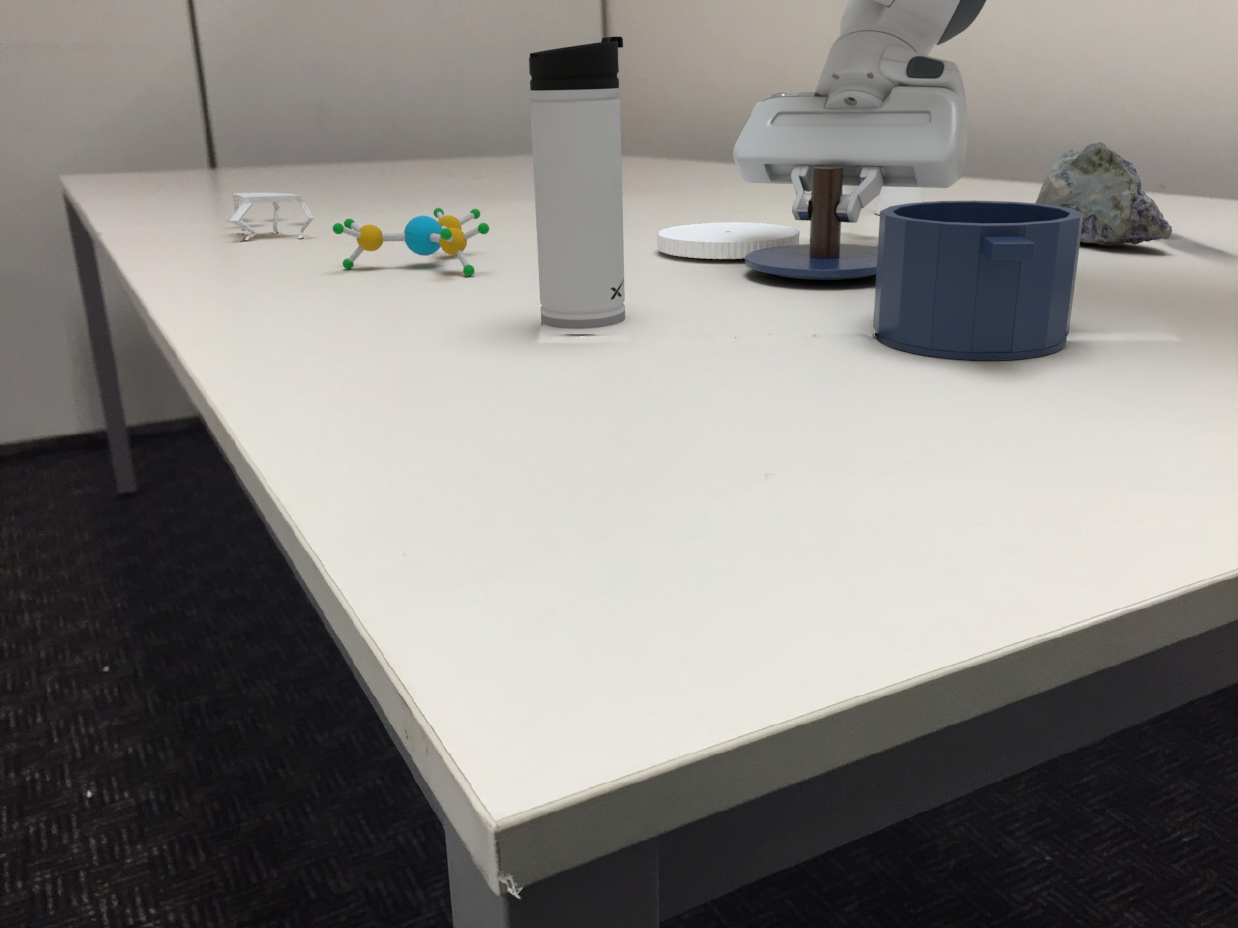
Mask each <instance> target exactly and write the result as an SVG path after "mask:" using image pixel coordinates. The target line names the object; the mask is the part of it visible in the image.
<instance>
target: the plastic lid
mask: <svg viewBox="0 0 1238 928" xmlns="http://www.w3.org/2000/svg"><path fill="white" fill-rule="evenodd" d="M656 235H657V238H656V240H657V244H656V245H657V250H658V252H661V253H663V254H666V255H670V256H674V257H676V256H677V257H683V258H691V259H692V258H694V259H707V260H710V259H712V260H717V259H718V260H737V259H739V260H742V259H745V256H746V255H747V254H749V253H750V252H753V251H756V250H760V249H765V248H771V247H779V246H788V245H800V230H799V229H797V228H795V227H793V226H788V225H783V224H775V223H764V222H761V223H760V222H746V221H745V222H742V221H739V222H736V221H733V222H730V221H726V222H724V221H721V222H703V223H702V222H701V223H693V224H692V223H690V224H683V225H682V224H681V225H675V226H670V227H667V228H662V229H660V230H658V231H657V233H656Z"/></svg>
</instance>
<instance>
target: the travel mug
mask: <svg viewBox="0 0 1238 928" xmlns="http://www.w3.org/2000/svg"><path fill="white" fill-rule="evenodd" d="M619 48H622V49H623V48H624V38H623V37H622V36H605V37H604V36H603V37H602V38H601V41H599V42H593V43H585V44H579V45H572V46H565V47H564V46H563V47H558V48H552V49H546V50H540V51H535V52H530V53H529V57H528V68H529V75H530V80H529V89H530V90H529V98H530V99H531V100H530V103H529V106H530V108H529V109H530V124H531V125H530V126H531V144H532V145H531V147H532V164H533V165H532V166H533V168H532V169H533V184H534V185H533V186H534V205H535V226H536V243H537V244H536V245H537V247H536V248H537V264H538V265H537V266H538V281H539V282H538V285H539V302H540V305H541V306H540V325H541V326H543V325H546V326H549V327H553V328H559V329H573V330H575V329H577V330H578V329H579V330H580V329H581V330H582V329H596V328H604V327H610V326H614V325H618V324H620V323H622V322H624V321H625V320H626V305H625V300H626V297H625V296H626V295H625V294H626V293H625V291H626V290H625V289H626V288H625V256H624V255H625V254H624V253H625V251H624V250H625V249H624V209H623V208H624V206H623V164H622V163H623V161H622V159H623V158H622V122H621V121H622V120H621V119H622V117H621V116H622V115H621V99H619V96H620V95H621V88H620V78H619V77H618V74H619V72H620V68H619V67H620V65H619ZM563 335H564V336H565V335H566V336H593V335H594V333H580V334H579V333H571V334H570V333H563Z"/></svg>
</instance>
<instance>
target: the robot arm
mask: <svg viewBox="0 0 1238 928" xmlns="http://www.w3.org/2000/svg"><path fill="white" fill-rule="evenodd" d="M986 3H987V0H848V1H847V3H846V5H845V8H844V11H843V13H842V16H841V20H840V31H839V32H840V33H839V36H838V37H837V38H836V39H835V40H834V42H833V43H832V45H831V46H830V49H829V52H828V55H827V57H826V60H825V63H824V66H823V68H822V70H821V73H820V76H819V80H818V81H817V85H816V87H815V90H814V91H805V92H796V93H786V92H776V93H773V94H772V95H771V97H767V98H764V99H763V100H761V101H758V102H756V104H755V105H754V106H753V108H752V111H751V112H750V113H751V114H750V116H749V117H748V119H747V122H746V123H745V125H744V126H743V129H742V130H741V132H740V134H739V136H738V137H737V140H736V142H735V144H734V147H733V149H732V158H733V162H734V164H735V167H736V169H737V171H738V173H739V174H740V176H741V178H742V179H743V181H744V182H745V183H747V184H773V185H774V184H775V185H776V184H777V185H793V186H792V187H793V189H794V193H795V195H796V196H795V197H794V201H793V203H792V207H791V213H792V215H793V218H794V220H795V221H807V222H808V221H810V222H811V190H812V168H813V167H816V166H842V167H843V186H847V187H848V186H849V187H850V186H852V187H855V188H854V189H853V190H852V192H851V193H850V194H842V195H841V197H840V199H839V202H840V203H839V204H838V205H837V209H836V214H837V216H838V217H839V219H838V220H839V222H841V223H849V224H851V223H853V224H856V223H858V220H859V217H860V215H861V211H862V209H864V208H865V207H867V206H868V205H869V204H870V203H871V202H872V201H874V200H875V198H878V195H879V194H880V191H881V188H882V186H886V187H922V188H930V189H948V188H951V187H952V186H953V185H954V184H955V183H957V182H958V181H960V179H961V178H962V175H963V173H964V168H965V164H966V159H967V158H966V157H967V150H968V134H967V127H966V120H967V113H968V112H967V97H966V89H965V84H964V82H963V77H962V75H961V71H960V68H959V66H958V64H957V63H955V62H953V61H949V60H946V59H942V58H939V57H938V58H937V57H933V56H929V55H930V54H931V52H932V50H933V48H934V46H935V45H936V46H940V45H943V44H944V43H946V42H948V41H950V40H952V39H953V38H955V37H957V36H958V35H960V34H961V33H963V32H964V31H966V30H967V29H968V28H969V27H971V25H972V24H973V23H974V22H975V20H976V19H977V17H979V15H980V14H981V11H982V10H983V8H984V6H985V4H986ZM806 192H807V193H806Z"/></svg>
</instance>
